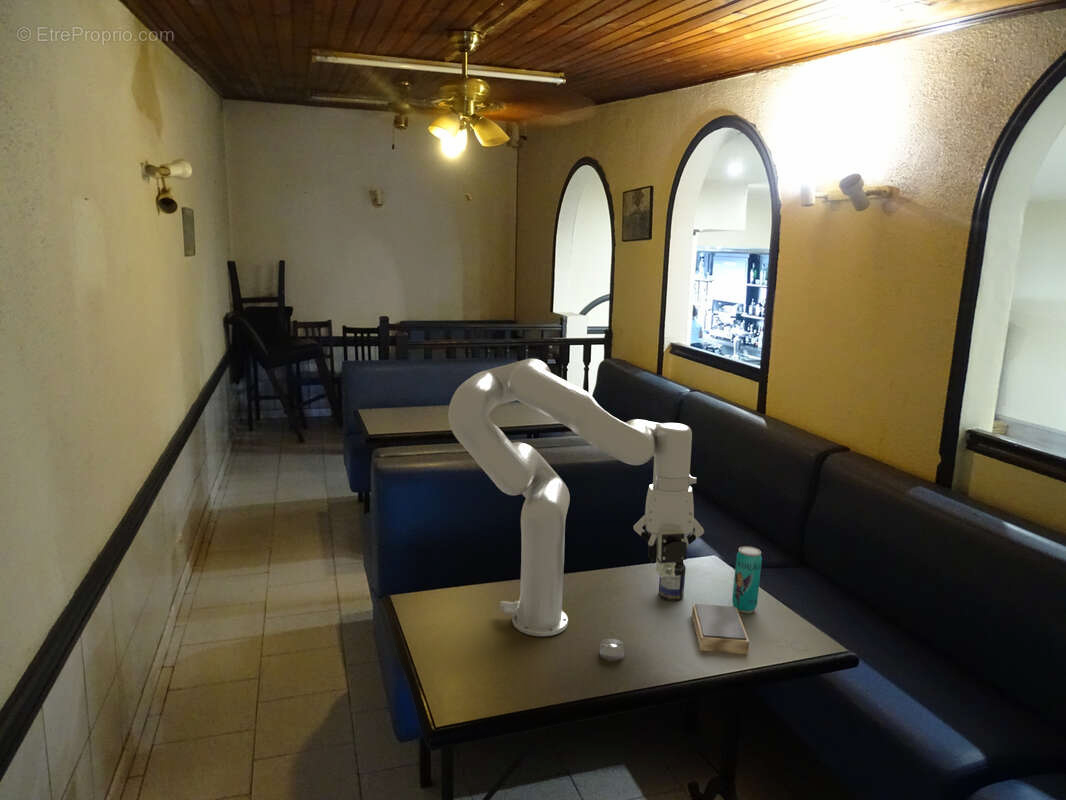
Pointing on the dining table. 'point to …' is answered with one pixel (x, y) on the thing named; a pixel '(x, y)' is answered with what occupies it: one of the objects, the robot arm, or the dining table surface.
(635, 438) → the robot arm
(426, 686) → the dining table surface
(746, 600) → the beverage can
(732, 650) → the framed panel
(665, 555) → the pneumatic valve
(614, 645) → the steel spacer
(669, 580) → the pill bottle
